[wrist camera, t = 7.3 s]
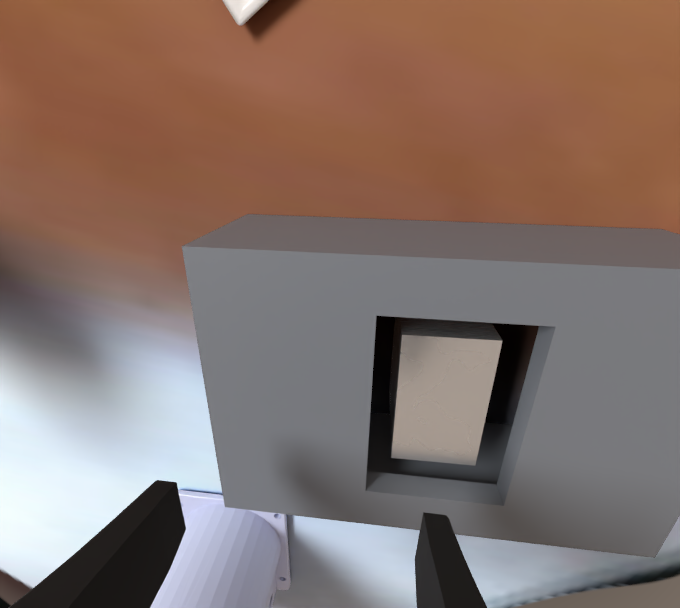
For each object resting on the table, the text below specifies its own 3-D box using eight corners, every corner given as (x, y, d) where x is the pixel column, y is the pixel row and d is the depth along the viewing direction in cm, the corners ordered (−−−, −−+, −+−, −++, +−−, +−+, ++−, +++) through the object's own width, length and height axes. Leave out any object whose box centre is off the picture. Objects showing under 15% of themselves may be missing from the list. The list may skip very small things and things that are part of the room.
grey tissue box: (580, 445, 20) (654, 557, 14) (264, 416, 22) (224, 507, 16) (662, 229, 15) (819, 275, 10) (247, 214, 17) (181, 246, 11)
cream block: (453, 391, 20) (475, 465, 15) (389, 386, 20) (391, 458, 15) (470, 289, 17) (502, 340, 13) (397, 285, 18) (402, 334, 13)
